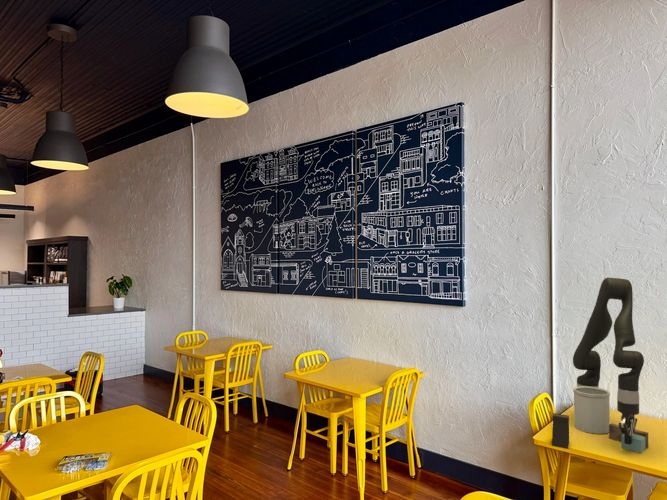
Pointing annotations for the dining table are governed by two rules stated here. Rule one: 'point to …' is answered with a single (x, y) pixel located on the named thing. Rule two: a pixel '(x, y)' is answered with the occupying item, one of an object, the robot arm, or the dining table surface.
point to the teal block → (635, 443)
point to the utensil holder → (591, 409)
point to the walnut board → (617, 434)
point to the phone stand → (560, 431)
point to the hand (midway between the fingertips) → (628, 443)
